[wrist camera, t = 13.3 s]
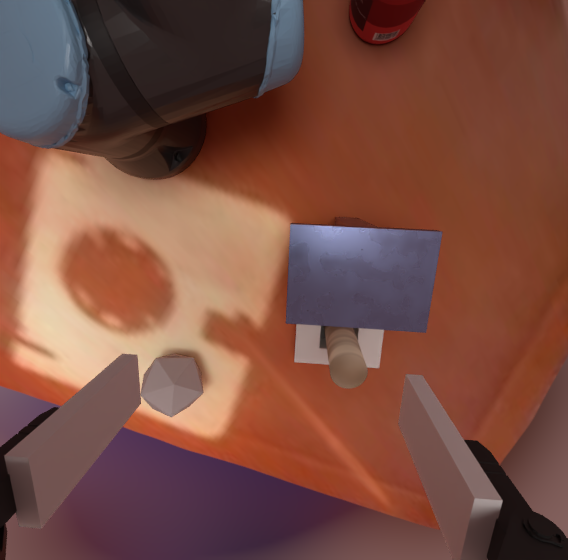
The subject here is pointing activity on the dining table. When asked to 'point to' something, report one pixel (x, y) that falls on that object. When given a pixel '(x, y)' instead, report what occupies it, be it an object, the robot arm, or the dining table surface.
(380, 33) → the canned food
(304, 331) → the socket block
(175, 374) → the die
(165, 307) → the dining table surface
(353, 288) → the slate blue panel
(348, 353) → the peg
